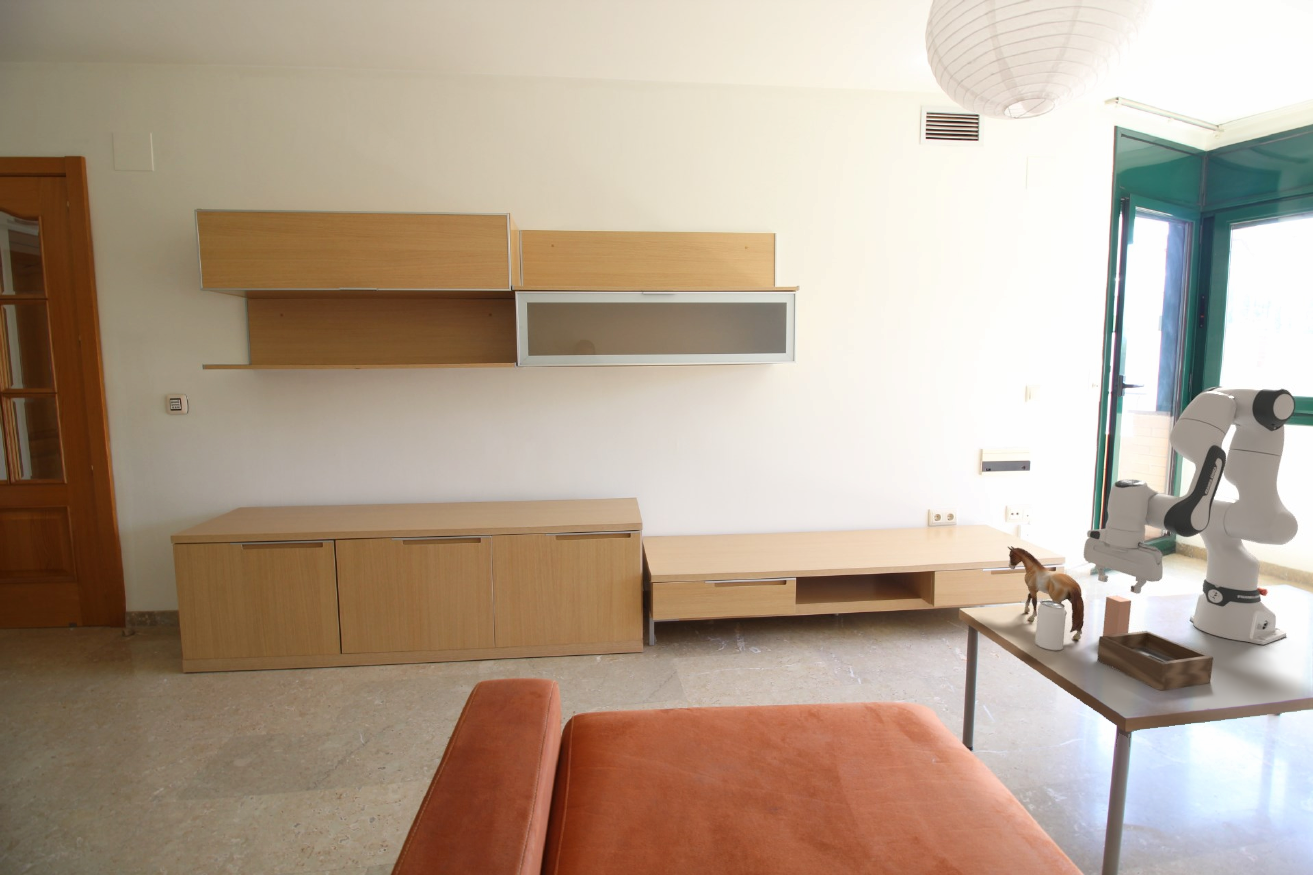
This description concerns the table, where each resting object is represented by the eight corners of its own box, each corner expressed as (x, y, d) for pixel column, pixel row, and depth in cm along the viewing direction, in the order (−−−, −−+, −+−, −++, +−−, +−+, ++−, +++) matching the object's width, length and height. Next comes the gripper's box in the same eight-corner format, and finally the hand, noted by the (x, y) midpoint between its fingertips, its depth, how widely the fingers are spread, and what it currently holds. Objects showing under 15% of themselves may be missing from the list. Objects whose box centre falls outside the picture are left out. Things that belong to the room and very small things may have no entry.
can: (1067, 652, 168) (1070, 609, 167) (1040, 649, 170) (1044, 607, 168) (1056, 642, 175) (1060, 600, 174) (1031, 640, 176) (1034, 598, 175)
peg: (1113, 636, 179) (1117, 595, 178) (1127, 642, 176) (1131, 600, 174) (1102, 637, 178) (1106, 596, 177) (1116, 643, 175) (1120, 601, 173)
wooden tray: (1144, 654, 168) (1146, 630, 167) (1210, 682, 153) (1213, 657, 152) (1097, 660, 164) (1099, 636, 163) (1160, 690, 149) (1163, 664, 148)
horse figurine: (1001, 607, 200) (1006, 544, 198) (1024, 607, 201) (1029, 544, 199) (1073, 650, 170) (1080, 576, 167) (1100, 650, 170) (1107, 576, 168)
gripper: (1171, 548, 165) (1165, 599, 166) (1099, 528, 184) (1094, 574, 186) (1153, 549, 163) (1147, 600, 165) (1082, 529, 183) (1077, 575, 184)
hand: (1118, 586), depth 175 cm, fingers open, 8 cm apart
